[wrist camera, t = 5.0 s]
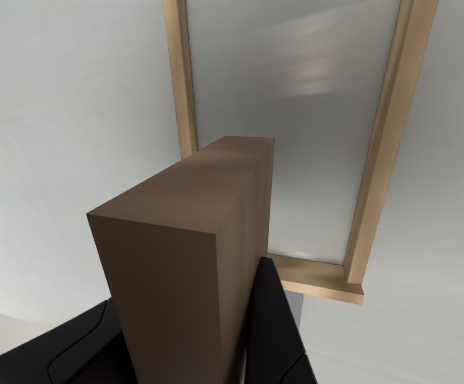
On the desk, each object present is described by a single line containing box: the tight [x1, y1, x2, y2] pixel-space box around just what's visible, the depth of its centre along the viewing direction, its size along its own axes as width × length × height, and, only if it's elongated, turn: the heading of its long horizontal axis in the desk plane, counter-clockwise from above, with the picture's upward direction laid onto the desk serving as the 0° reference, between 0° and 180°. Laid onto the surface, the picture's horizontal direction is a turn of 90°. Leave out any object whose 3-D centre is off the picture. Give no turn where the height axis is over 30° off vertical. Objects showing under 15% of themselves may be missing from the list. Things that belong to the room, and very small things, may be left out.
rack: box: [163, 0, 438, 305], centre depth 15 cm, size 15×28×3 cm, turn 2°
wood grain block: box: [86, 136, 275, 384], centre depth 7 cm, size 2×8×6 cm, turn 1°
